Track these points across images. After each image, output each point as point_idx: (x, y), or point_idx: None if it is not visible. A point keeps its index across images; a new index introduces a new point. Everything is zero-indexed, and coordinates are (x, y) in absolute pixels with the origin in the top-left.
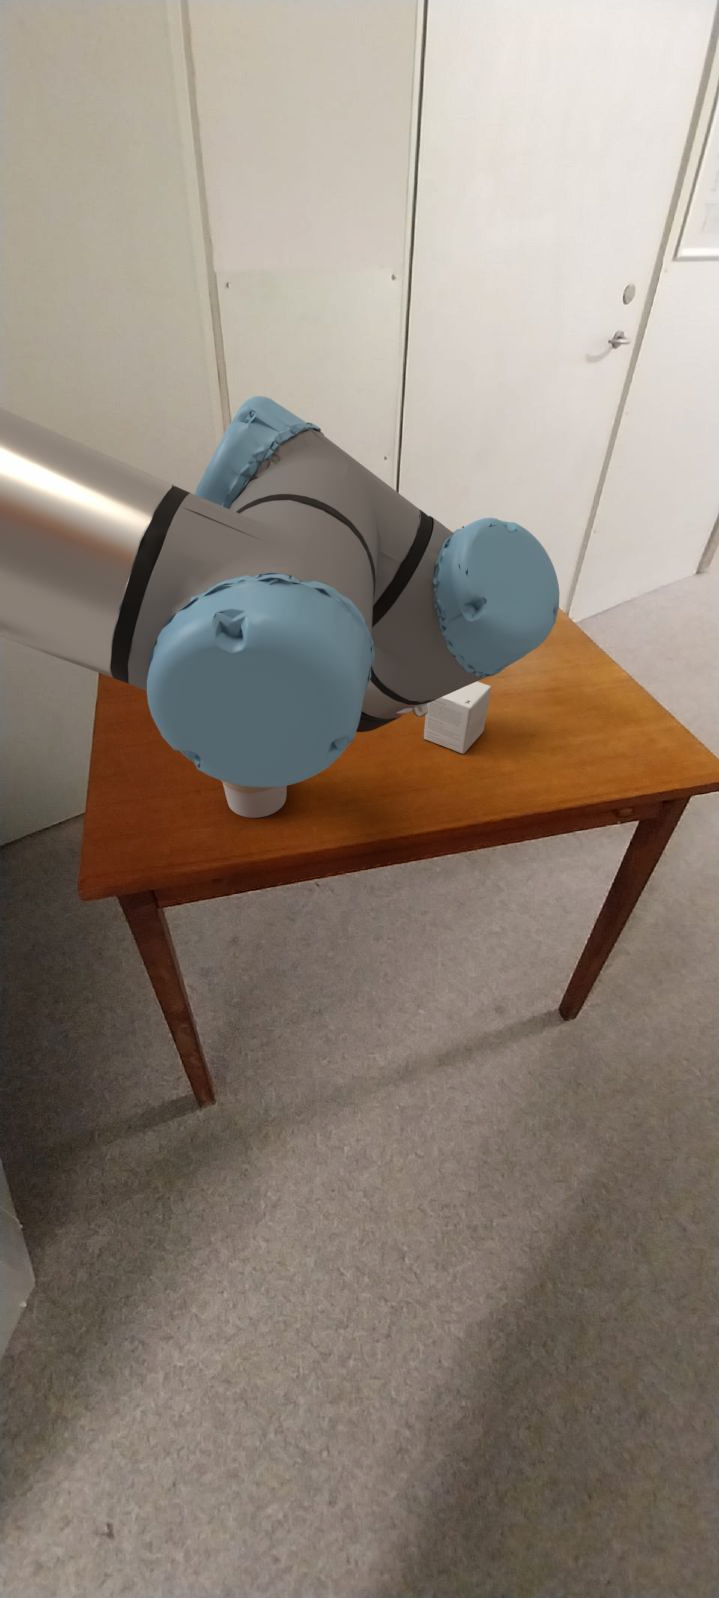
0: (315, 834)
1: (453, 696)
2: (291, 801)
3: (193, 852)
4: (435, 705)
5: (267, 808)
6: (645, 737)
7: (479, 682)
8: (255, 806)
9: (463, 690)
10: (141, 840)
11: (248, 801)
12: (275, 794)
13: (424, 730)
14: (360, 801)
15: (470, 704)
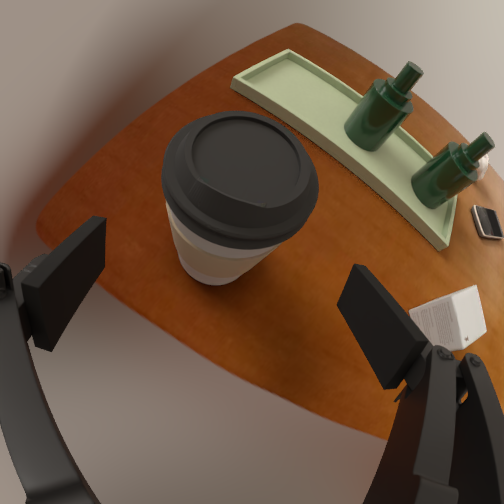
0: (223, 348)
1: (463, 321)
2: (240, 285)
3: (105, 264)
4: (444, 310)
5: (203, 280)
6: None
7: (483, 319)
8: (190, 271)
9: (472, 320)
10: (86, 211)
11: (184, 263)
12: (218, 279)
13: (415, 308)
14: (301, 343)
15: (466, 344)
